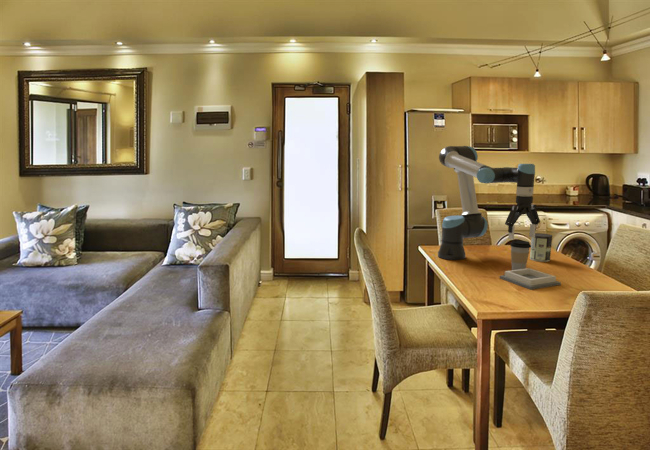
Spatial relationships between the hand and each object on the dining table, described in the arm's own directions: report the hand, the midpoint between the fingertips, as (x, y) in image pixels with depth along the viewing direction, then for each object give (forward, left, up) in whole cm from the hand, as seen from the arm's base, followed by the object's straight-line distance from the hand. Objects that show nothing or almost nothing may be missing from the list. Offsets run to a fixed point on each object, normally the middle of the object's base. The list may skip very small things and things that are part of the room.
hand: (521, 238), depth 203 cm
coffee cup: (0, 0, -17) cm, 17 cm away
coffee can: (-13, +29, -17) cm, 36 cm away
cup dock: (+15, -9, -17) cm, 24 cm away
